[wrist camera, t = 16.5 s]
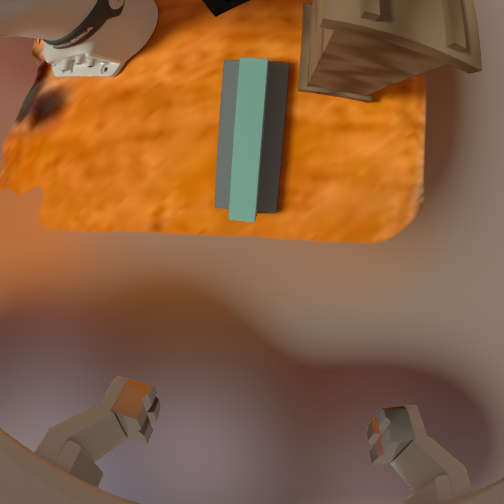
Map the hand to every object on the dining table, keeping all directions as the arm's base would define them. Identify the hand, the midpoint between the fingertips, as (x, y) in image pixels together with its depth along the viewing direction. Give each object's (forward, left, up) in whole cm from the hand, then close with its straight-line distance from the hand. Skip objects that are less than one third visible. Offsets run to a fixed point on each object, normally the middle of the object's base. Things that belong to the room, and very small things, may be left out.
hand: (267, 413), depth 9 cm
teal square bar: (-5, +8, -34) cm, 36 cm away
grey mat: (-5, +8, -35) cm, 36 cm away
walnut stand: (+6, +22, -35) cm, 42 cm away
